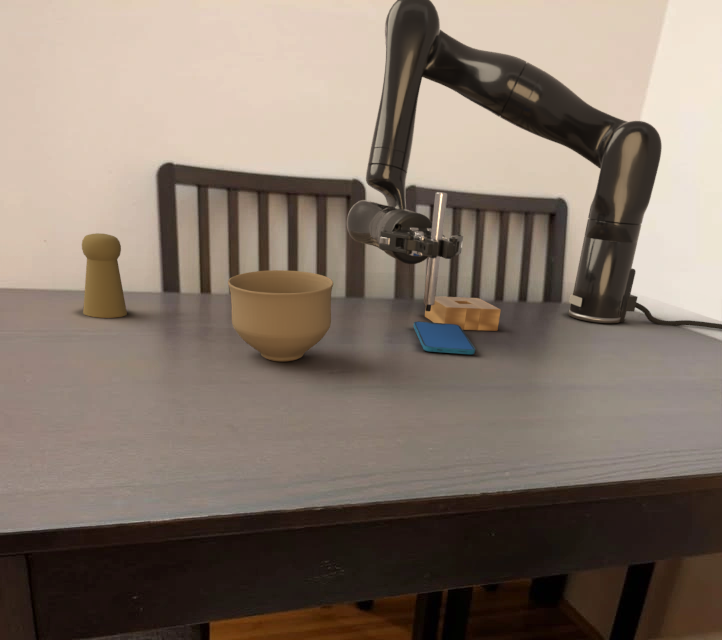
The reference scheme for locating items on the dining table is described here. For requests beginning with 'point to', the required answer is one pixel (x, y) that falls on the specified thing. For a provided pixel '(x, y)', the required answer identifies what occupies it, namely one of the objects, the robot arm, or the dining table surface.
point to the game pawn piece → (103, 277)
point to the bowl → (281, 311)
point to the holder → (464, 313)
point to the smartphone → (443, 338)
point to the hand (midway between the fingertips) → (442, 250)
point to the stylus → (434, 262)
